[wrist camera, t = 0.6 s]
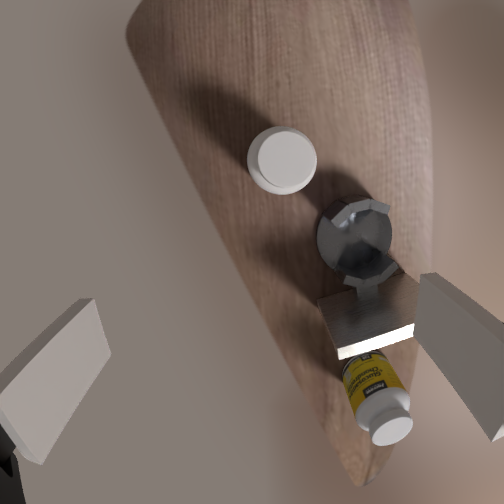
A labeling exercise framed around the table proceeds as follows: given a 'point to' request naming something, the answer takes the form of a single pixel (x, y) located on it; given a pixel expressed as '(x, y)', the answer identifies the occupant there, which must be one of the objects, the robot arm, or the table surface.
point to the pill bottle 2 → (377, 397)
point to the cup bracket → (363, 278)
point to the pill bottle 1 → (281, 160)
